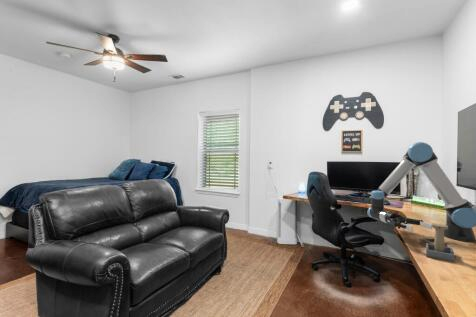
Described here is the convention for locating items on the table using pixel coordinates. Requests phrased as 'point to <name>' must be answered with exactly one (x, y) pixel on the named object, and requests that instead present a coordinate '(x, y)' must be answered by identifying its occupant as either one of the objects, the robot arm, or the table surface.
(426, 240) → the collar
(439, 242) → the handle
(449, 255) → the tray
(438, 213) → the table surface
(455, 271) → the table surface
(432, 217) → the table surface
